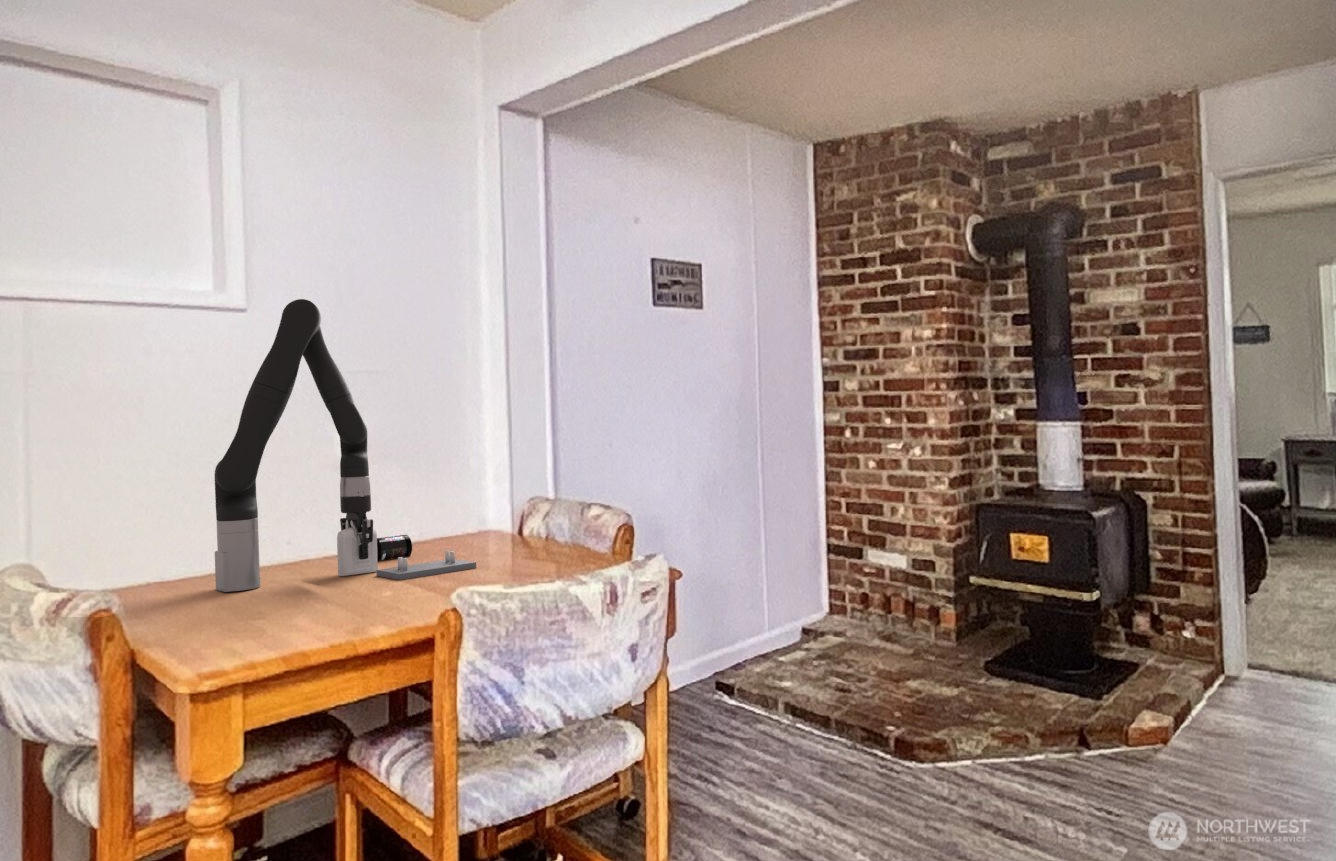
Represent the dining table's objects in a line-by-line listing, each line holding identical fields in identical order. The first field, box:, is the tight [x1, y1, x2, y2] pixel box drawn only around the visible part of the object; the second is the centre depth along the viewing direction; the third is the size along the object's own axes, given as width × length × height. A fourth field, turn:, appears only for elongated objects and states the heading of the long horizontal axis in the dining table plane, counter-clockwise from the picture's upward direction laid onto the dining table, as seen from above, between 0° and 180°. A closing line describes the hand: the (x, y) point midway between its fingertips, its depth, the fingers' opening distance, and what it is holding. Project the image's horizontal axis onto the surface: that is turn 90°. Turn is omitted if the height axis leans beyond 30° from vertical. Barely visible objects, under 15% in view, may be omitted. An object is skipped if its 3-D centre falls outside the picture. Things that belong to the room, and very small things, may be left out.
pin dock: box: [375, 550, 477, 581], centre depth 226 cm, size 12×22×4 cm, turn 136°
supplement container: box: [377, 534, 413, 562], centre depth 252 cm, size 7×7×10 cm
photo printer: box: [336, 527, 379, 577], centre depth 227 cm, size 10×4×12 cm, turn 134°
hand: (357, 558), depth 227 cm, fingers open, 6 cm apart
